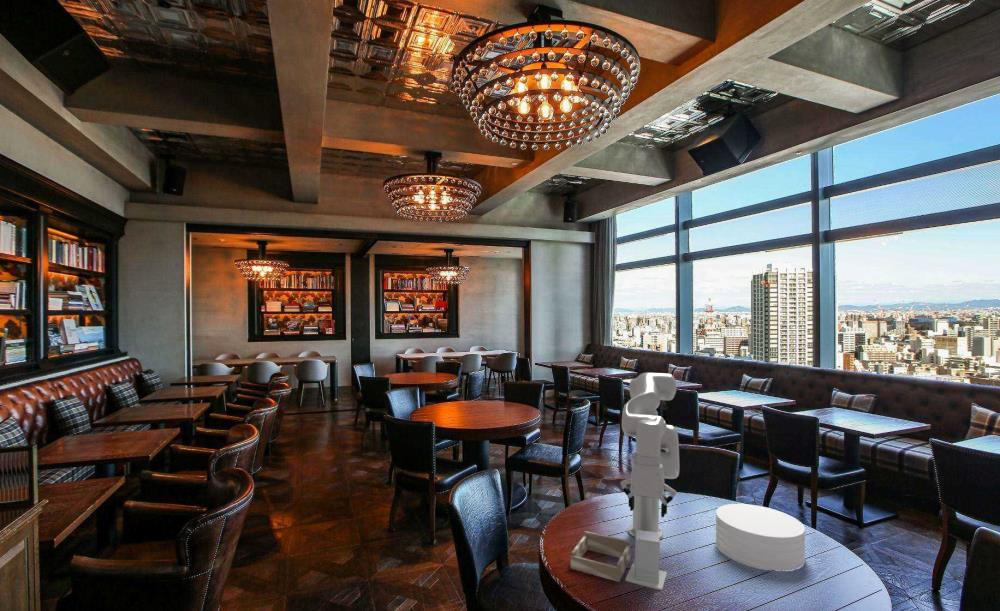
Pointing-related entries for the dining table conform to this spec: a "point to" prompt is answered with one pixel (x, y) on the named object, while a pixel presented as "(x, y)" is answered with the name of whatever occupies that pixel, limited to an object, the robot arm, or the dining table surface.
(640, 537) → the supplement box
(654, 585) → the mat
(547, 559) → the dining table surface
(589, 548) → the cold frame
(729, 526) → the plate stack
